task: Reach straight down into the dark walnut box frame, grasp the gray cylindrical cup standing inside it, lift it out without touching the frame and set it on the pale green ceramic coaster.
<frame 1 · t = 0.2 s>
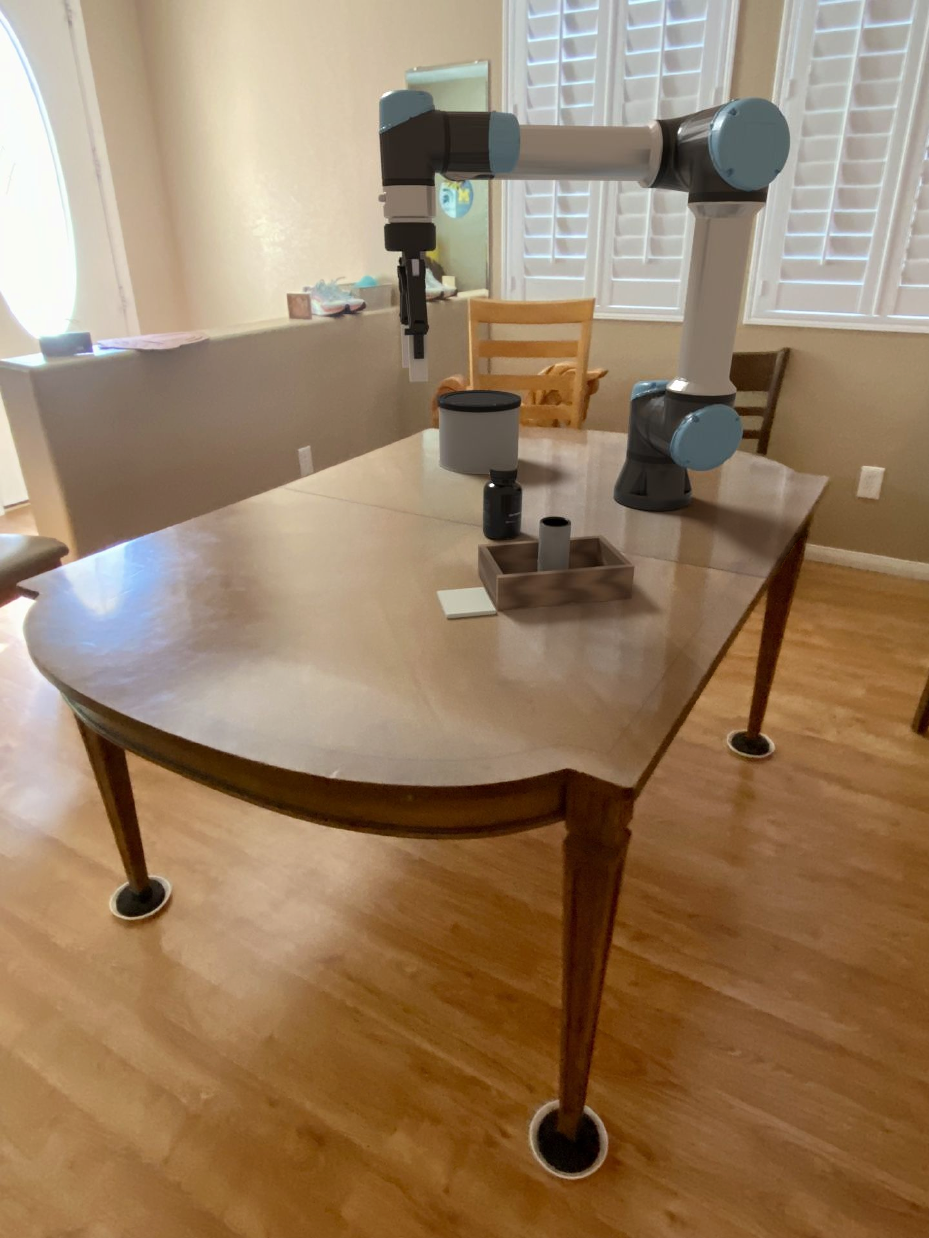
hand: (414, 374, 119), 28 cm above the table, fingers open, 13 cm apart
supplement bottle: (501, 534, 135), on the table
box frame: (552, 586, 115), on the table
coaster: (465, 604, 109), on the table
gray cylindrical cup: (551, 587, 115), resting in box frame
container: (478, 464, 178), on the table
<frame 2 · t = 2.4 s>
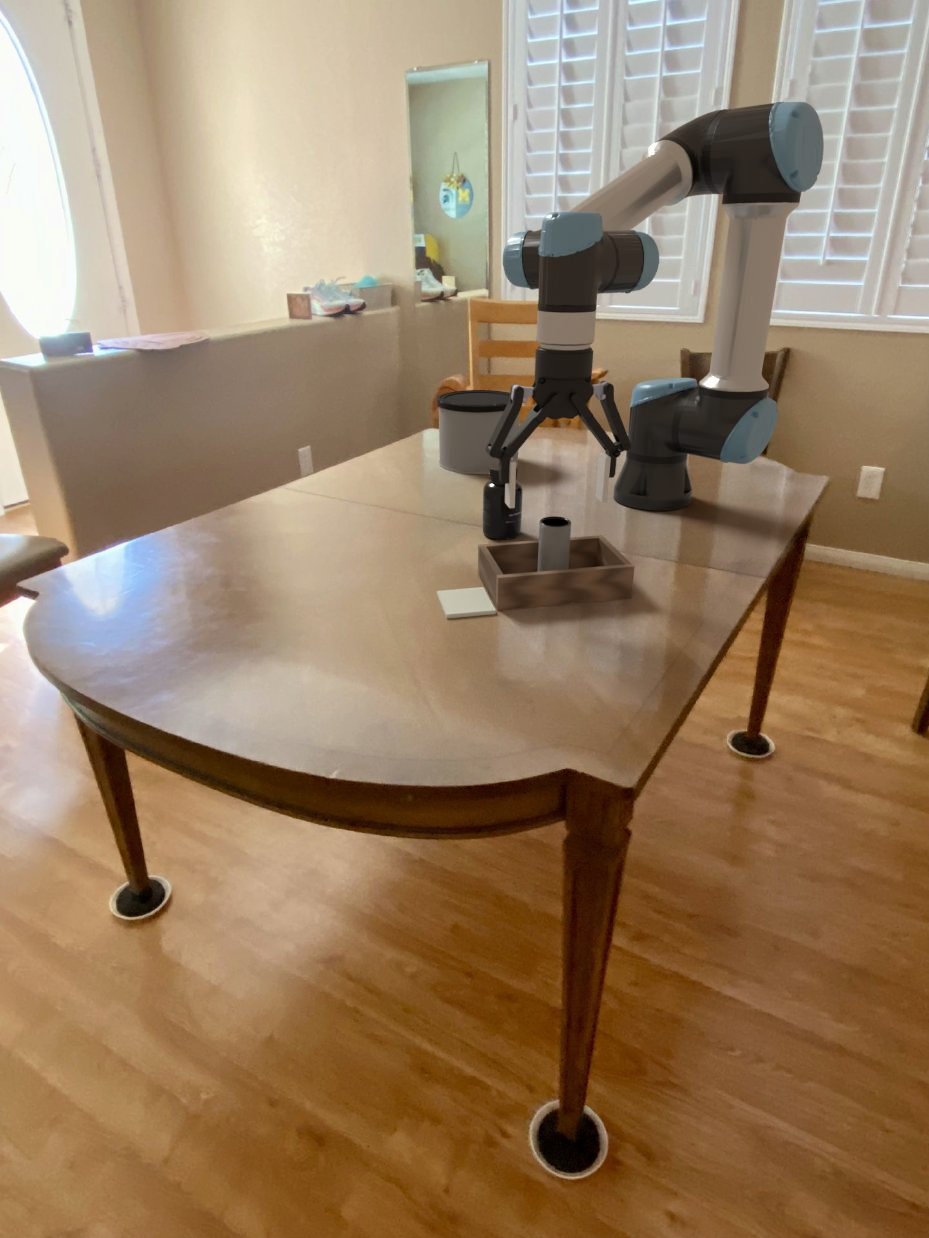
hand: (555, 502, 109), 13 cm above the table, fingers open, 13 cm apart
nothing on the table moved.
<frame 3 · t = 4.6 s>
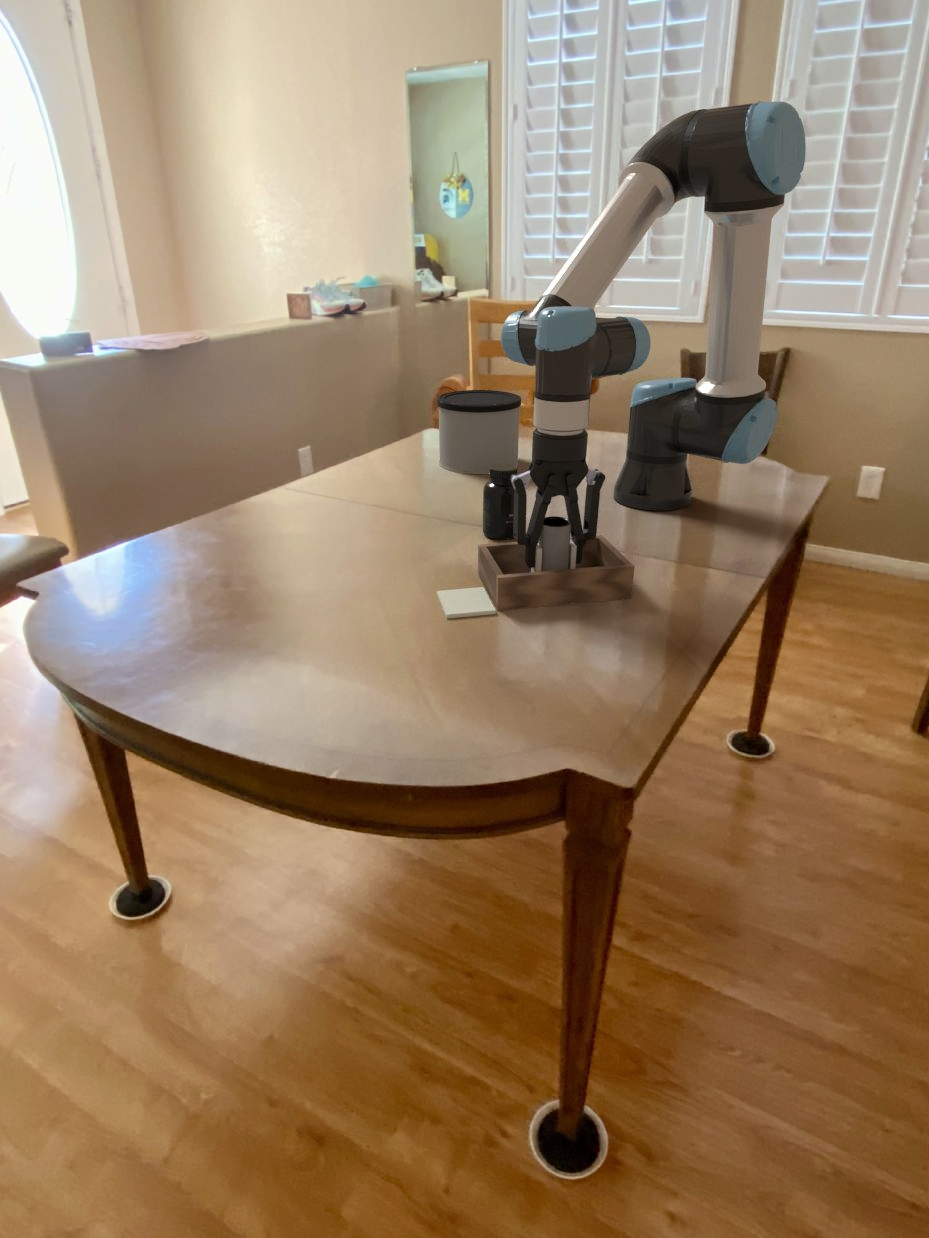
hand: (552, 584, 115), 0 cm above the table, fingers closed on gray cylindrical cup, 4 cm apart
gray cylindrical cup: (551, 587, 115), resting in box frame, touching gripper
everything else where it was.
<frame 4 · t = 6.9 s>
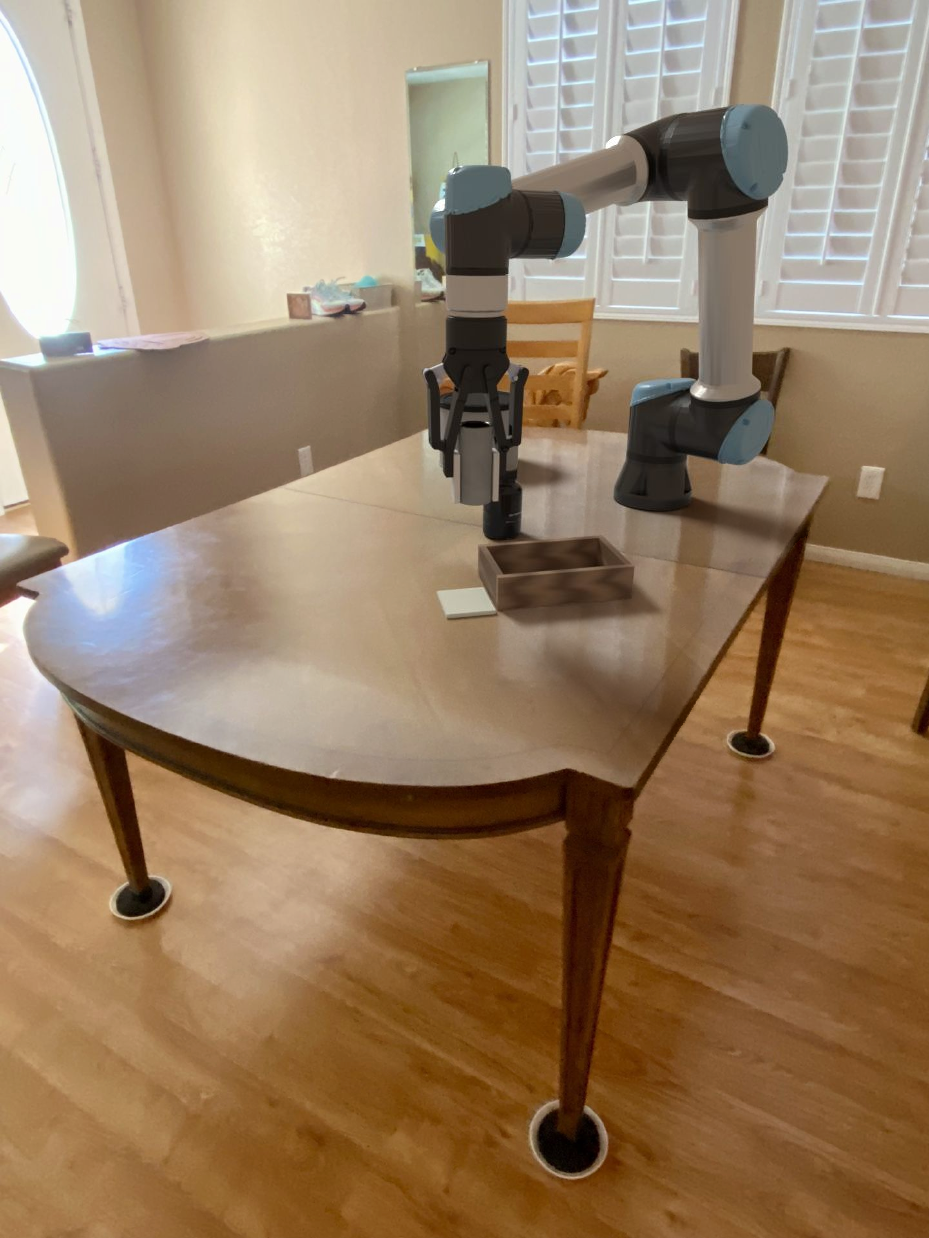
hand: (474, 498, 103), 16 cm above the table, fingers closed on gray cylindrical cup, 4 cm apart
gray cylindrical cup: (474, 502, 103), point 15 cm above the table, touching gripper
everything else where it was.
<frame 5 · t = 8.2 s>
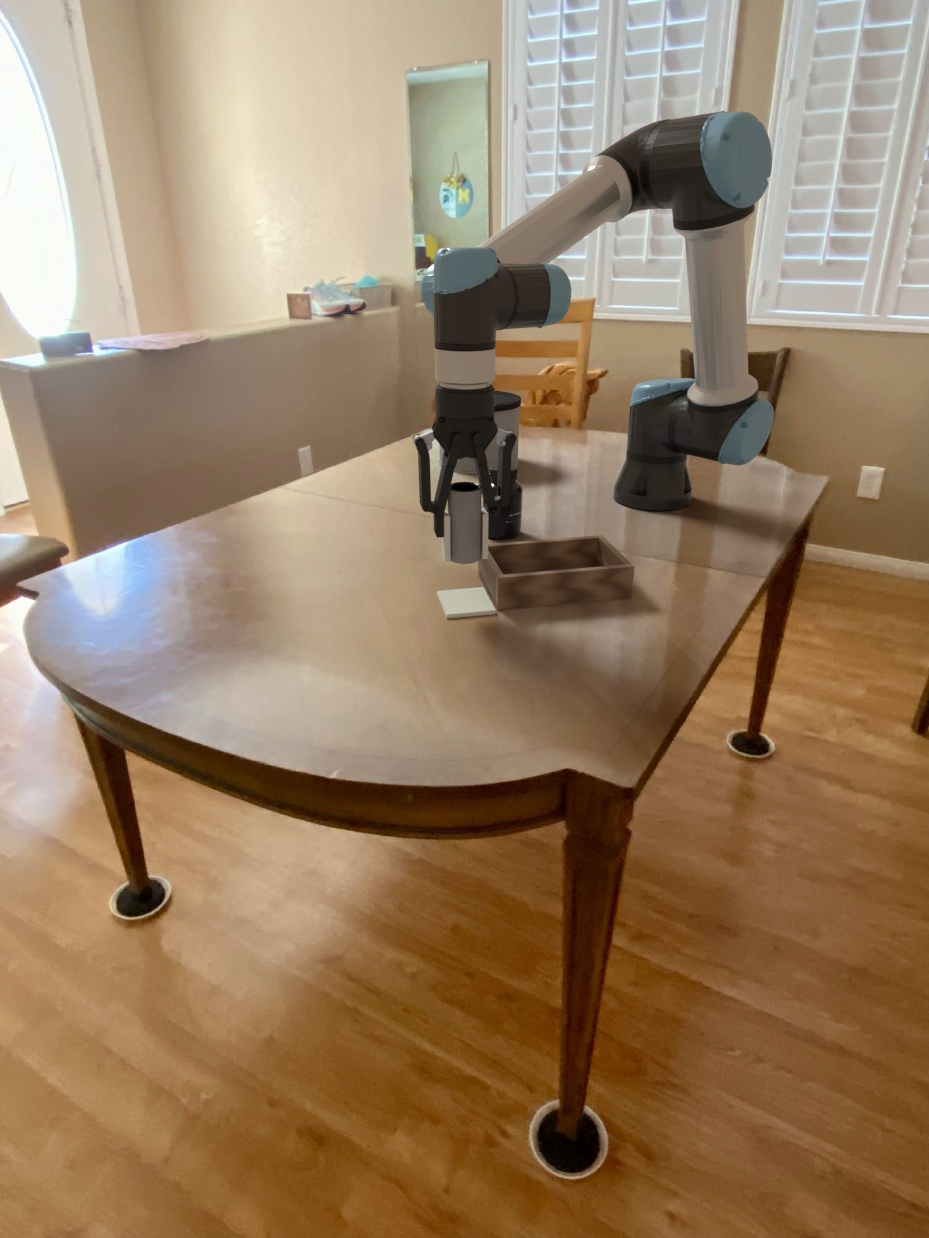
hand: (464, 556, 106), 7 cm above the table, fingers closed on gray cylindrical cup, 4 cm apart
gray cylindrical cup: (464, 559, 106), point 7 cm above the table, touching gripper
everything else where it was.
when the fingers open (2 cm above the table, at t = 9.2 s): gray cylindrical cup drops 1 cm, resting on coaster.
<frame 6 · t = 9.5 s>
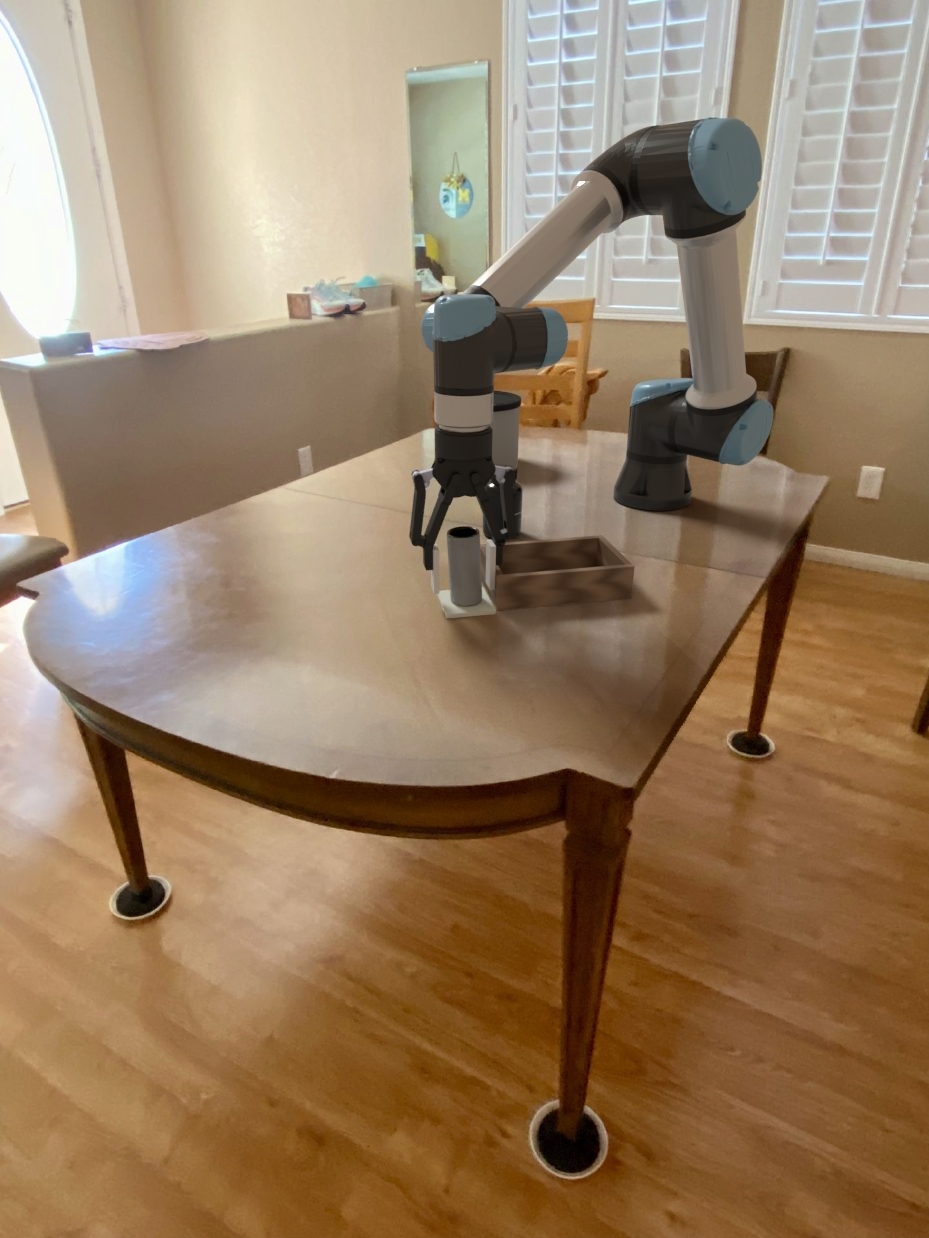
hand: (462, 587, 108), 3 cm above the table, fingers open, 7 cm apart
gray cylindrical cup: (466, 600, 109), point 1 cm above the table, touching coaster
everything else where it was.
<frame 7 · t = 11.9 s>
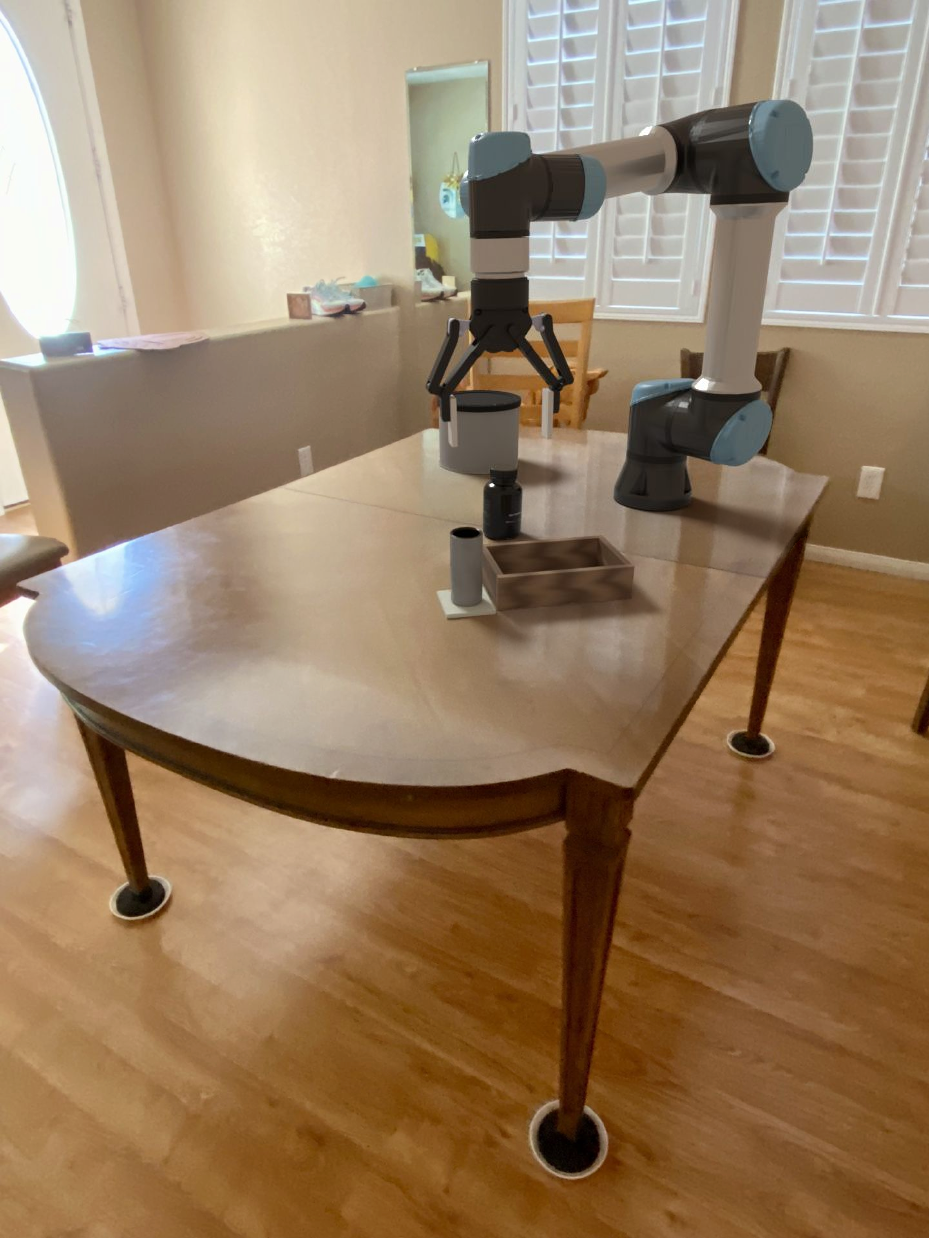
hand: (500, 441, 107), 21 cm above the table, fingers open, 13 cm apart
nothing on the table moved.
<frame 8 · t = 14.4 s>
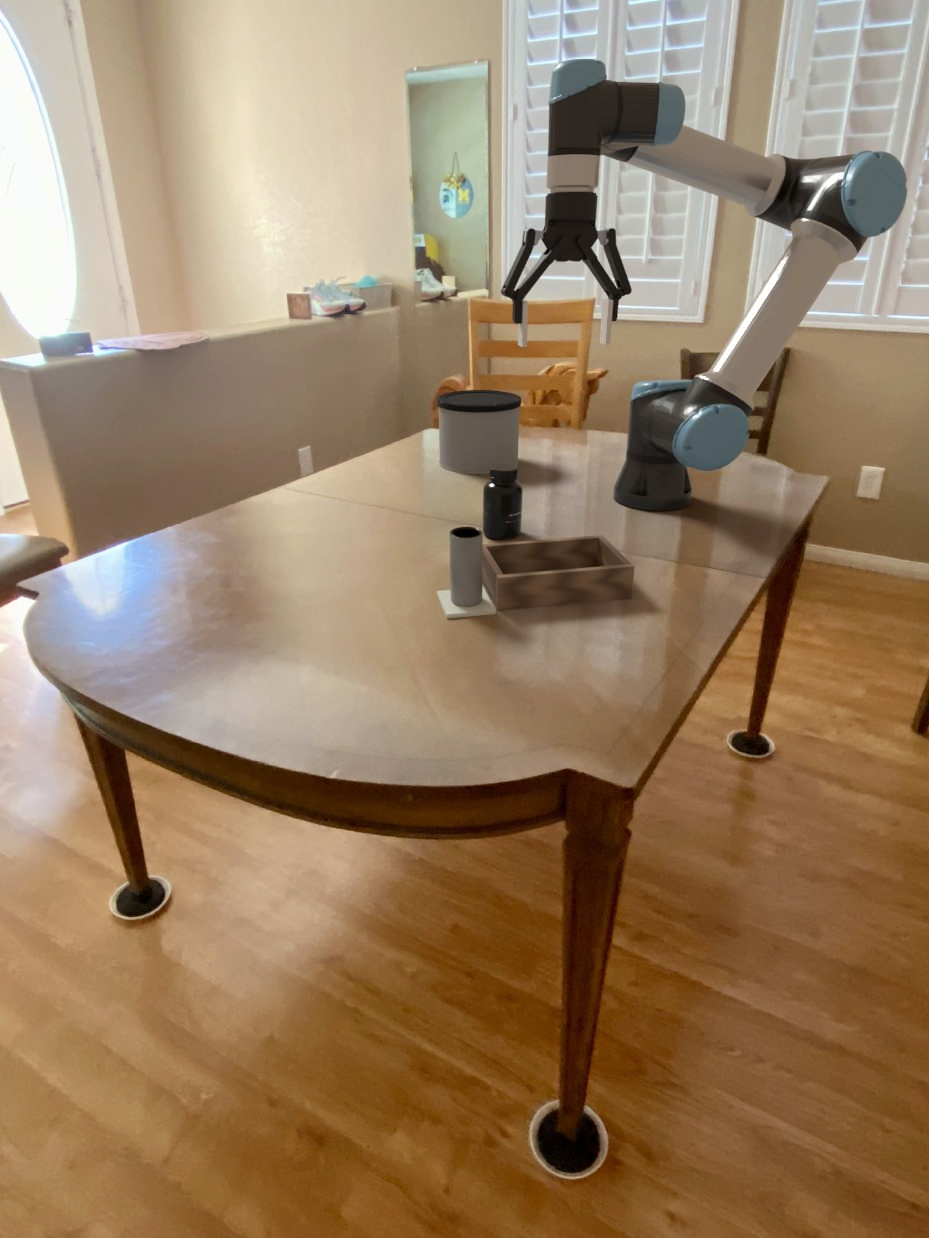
hand: (563, 345, 121), 32 cm above the table, fingers open, 13 cm apart
nothing on the table moved.
at the end: gray cylindrical cup inside the target area on the coaster (0.1 cm from its centre), point 0.4 cm above the coaster's base; gray cylindrical cup tilted 0°; the gripper is holding nothing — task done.
